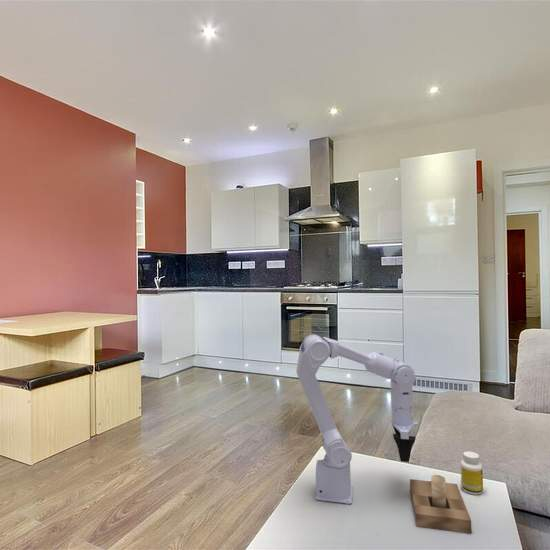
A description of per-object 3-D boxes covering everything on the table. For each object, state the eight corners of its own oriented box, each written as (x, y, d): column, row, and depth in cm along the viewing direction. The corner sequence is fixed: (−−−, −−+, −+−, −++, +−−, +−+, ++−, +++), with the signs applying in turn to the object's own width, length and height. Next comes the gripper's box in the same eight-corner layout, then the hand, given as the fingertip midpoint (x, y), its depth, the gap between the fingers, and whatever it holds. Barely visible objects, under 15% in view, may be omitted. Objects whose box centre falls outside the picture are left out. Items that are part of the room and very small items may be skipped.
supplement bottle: (486, 496, 102) (484, 459, 102) (464, 494, 103) (463, 458, 103) (479, 485, 107) (478, 450, 107) (458, 484, 108) (457, 449, 109)
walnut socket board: (416, 526, 91) (415, 513, 91) (410, 490, 106) (410, 479, 106) (471, 533, 88) (471, 520, 88) (457, 495, 103) (456, 483, 103)
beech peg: (433, 517, 94) (432, 480, 94) (431, 509, 97) (430, 474, 97) (447, 519, 93) (446, 482, 93) (445, 511, 96) (443, 475, 96)
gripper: (420, 415, 98) (422, 468, 98) (414, 398, 112) (416, 444, 112) (391, 414, 100) (393, 466, 100) (389, 397, 114) (391, 442, 114)
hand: (403, 454), depth 106 cm, fingers open, 7 cm apart
